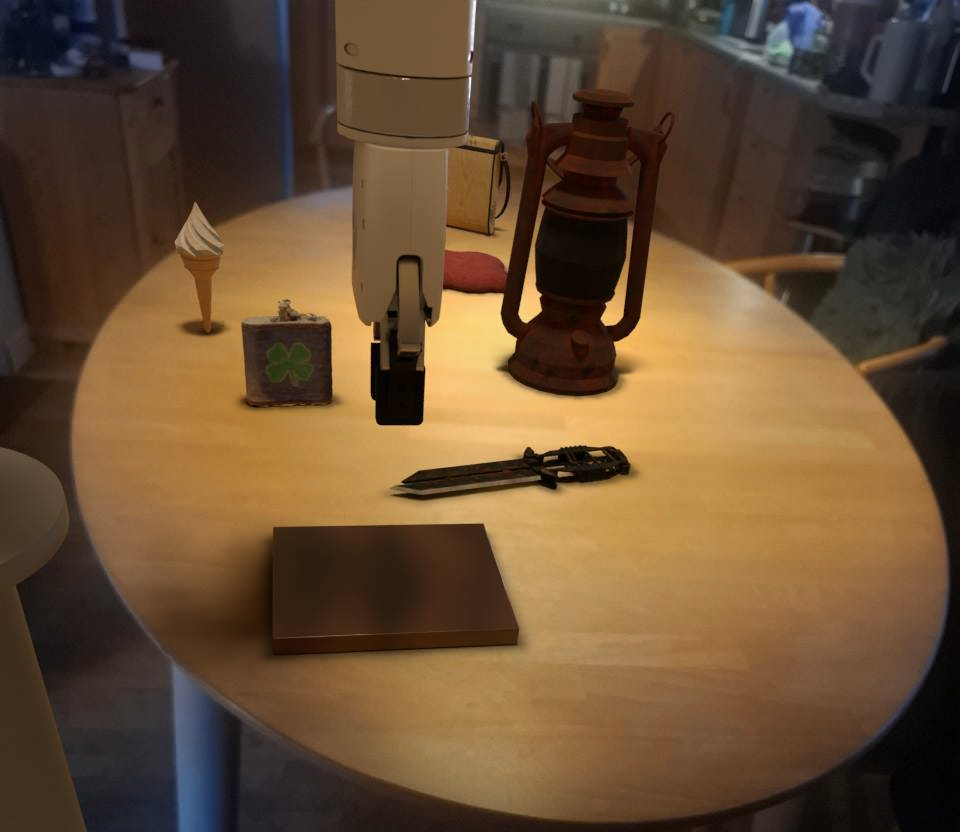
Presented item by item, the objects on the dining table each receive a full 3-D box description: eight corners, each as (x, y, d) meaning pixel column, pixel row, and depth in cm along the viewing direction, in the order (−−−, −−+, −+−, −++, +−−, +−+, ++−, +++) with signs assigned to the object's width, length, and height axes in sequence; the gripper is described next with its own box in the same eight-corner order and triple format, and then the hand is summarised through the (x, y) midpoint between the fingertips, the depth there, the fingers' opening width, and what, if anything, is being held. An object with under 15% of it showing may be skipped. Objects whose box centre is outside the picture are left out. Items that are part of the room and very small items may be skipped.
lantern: (505, 394, 103) (539, 96, 85) (484, 350, 114) (510, 76, 95) (646, 396, 107) (708, 109, 88) (612, 352, 117) (661, 88, 99)
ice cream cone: (176, 328, 110) (160, 197, 101) (217, 321, 114) (205, 193, 104) (199, 343, 107) (184, 209, 98) (240, 335, 111) (230, 204, 101)
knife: (394, 503, 82) (394, 489, 81) (378, 470, 87) (378, 457, 86) (638, 482, 89) (641, 470, 89) (611, 452, 94) (614, 440, 93)
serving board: (273, 654, 64) (272, 638, 63) (273, 541, 75) (272, 526, 74) (517, 644, 67) (519, 628, 66) (482, 537, 79) (483, 523, 78)
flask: (247, 407, 95) (240, 306, 88) (245, 396, 97) (238, 296, 90) (334, 405, 97) (333, 306, 91) (330, 394, 99) (329, 296, 93)
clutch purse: (512, 230, 161) (521, 137, 152) (497, 238, 156) (506, 143, 147) (369, 200, 170) (370, 110, 160) (350, 207, 164) (350, 114, 155)
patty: (519, 295, 133) (520, 281, 131) (427, 291, 130) (427, 277, 129) (499, 260, 146) (501, 247, 145) (415, 256, 144) (416, 243, 142)
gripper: (329, 81, 56) (335, 365, 67) (345, 130, 43) (349, 468, 55) (447, 89, 57) (433, 366, 69) (495, 139, 45) (468, 467, 56)
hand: (396, 408), depth 62 cm, fingers open, 3 cm apart
